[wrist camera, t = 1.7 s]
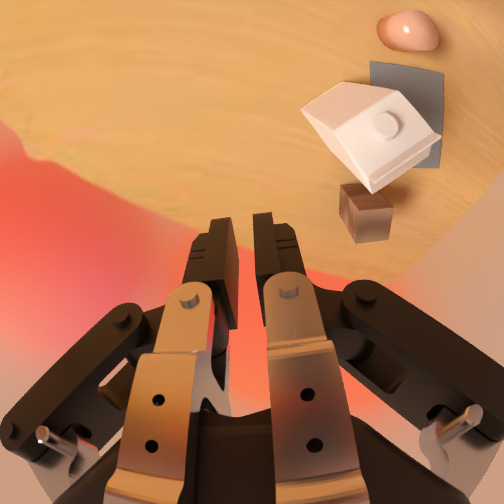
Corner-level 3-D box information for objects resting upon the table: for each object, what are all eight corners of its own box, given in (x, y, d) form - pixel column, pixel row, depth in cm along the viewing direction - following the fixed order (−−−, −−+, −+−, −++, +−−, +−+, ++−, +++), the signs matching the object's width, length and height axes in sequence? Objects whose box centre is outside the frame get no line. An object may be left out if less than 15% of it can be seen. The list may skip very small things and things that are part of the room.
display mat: (369, 61, 27) (370, 61, 26) (442, 73, 26) (443, 74, 26) (371, 167, 36) (372, 168, 36) (437, 167, 35) (438, 168, 35)
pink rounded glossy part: (374, 13, 22) (399, 5, 16) (408, 20, 22) (436, 15, 16) (379, 48, 25) (405, 46, 20) (412, 53, 25) (441, 54, 19)
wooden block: (339, 184, 38) (358, 210, 32) (370, 182, 38) (393, 207, 31) (339, 214, 41) (355, 243, 35) (368, 211, 41) (388, 239, 34)
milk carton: (368, 123, 32) (453, 172, 17) (329, 149, 35) (391, 217, 20) (341, 80, 29) (424, 95, 14) (299, 108, 31) (350, 143, 16)
